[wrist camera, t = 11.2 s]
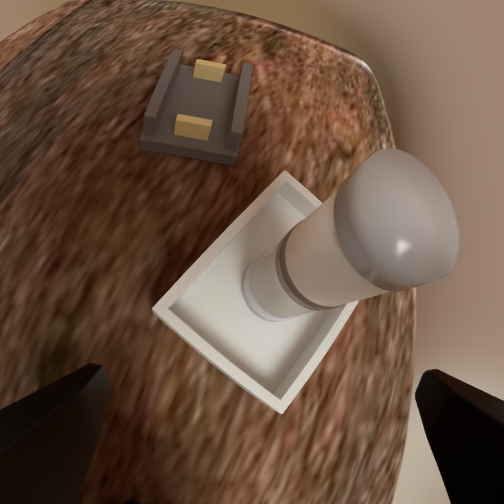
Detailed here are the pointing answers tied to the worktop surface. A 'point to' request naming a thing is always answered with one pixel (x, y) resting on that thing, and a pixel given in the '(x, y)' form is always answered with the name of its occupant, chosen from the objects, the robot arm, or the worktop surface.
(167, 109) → the fuse holder
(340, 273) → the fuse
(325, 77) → the worktop surface
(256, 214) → the parts tray
